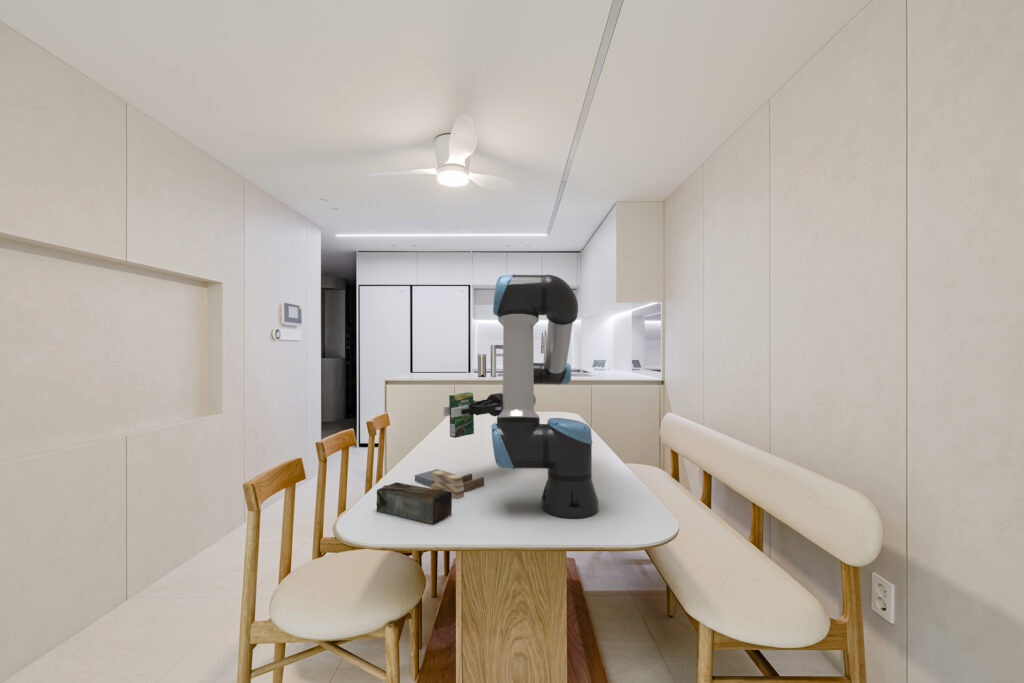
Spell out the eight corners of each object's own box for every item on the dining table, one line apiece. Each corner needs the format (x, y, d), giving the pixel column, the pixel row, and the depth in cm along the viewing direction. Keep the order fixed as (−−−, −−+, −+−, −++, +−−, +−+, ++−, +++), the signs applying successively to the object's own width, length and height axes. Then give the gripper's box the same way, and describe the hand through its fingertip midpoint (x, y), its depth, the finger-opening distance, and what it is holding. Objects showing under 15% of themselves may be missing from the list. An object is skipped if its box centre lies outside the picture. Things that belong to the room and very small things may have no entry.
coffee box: (454, 438, 131) (454, 394, 131) (448, 437, 133) (448, 394, 133) (474, 434, 137) (474, 392, 137) (468, 433, 139) (468, 392, 139)
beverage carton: (396, 502, 120) (396, 478, 120) (453, 515, 111) (453, 489, 111) (375, 512, 113) (375, 486, 113) (434, 526, 104) (434, 499, 104)
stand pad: (455, 480, 139) (455, 474, 139) (432, 487, 132) (432, 480, 132) (436, 475, 145) (436, 469, 145) (414, 481, 138) (414, 475, 138)
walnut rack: (484, 485, 134) (484, 477, 134) (465, 492, 128) (465, 483, 128) (470, 481, 138) (470, 473, 138) (451, 487, 132) (451, 479, 132)
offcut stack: (464, 496, 124) (464, 477, 124) (456, 498, 122) (456, 479, 122) (439, 487, 132) (439, 470, 132) (431, 490, 129) (431, 472, 129)
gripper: (518, 417, 143) (466, 428, 125) (484, 412, 154) (431, 421, 136) (518, 395, 143) (466, 402, 125) (484, 391, 154) (431, 397, 136)
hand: (448, 412), depth 131 cm, fingers closed on coffee box, 3 cm apart
